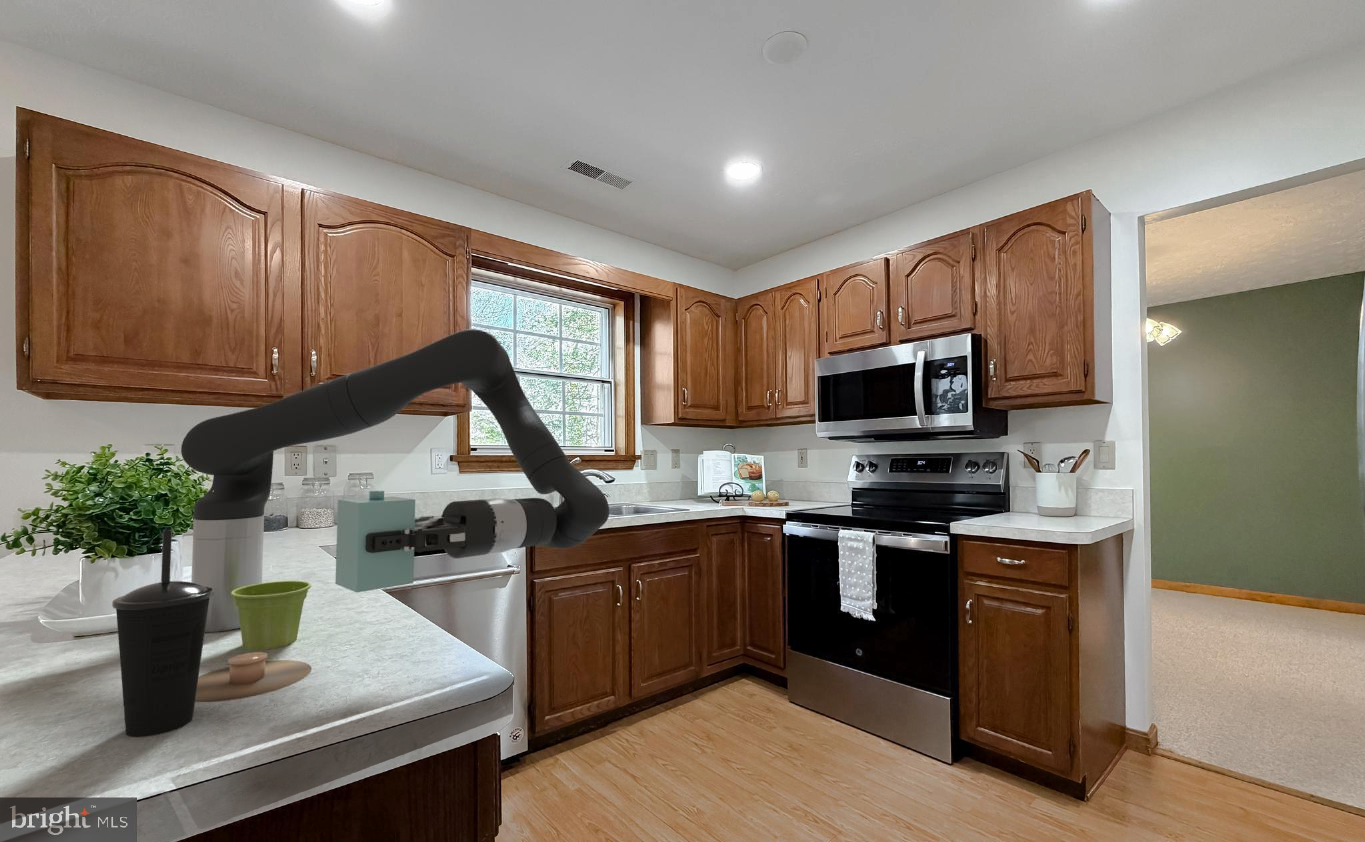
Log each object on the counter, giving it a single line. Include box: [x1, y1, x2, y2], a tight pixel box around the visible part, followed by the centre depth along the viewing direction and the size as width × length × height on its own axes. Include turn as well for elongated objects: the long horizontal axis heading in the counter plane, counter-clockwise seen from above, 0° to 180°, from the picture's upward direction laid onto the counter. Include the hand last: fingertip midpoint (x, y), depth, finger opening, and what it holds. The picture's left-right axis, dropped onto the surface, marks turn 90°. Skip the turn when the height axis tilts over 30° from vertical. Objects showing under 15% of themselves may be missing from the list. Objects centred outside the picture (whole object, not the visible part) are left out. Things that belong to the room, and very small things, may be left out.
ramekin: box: [227, 651, 268, 684], centre depth 72 cm, size 4×4×2 cm
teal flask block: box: [334, 490, 416, 594], centre depth 73 cm, size 6×6×11 cm
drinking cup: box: [111, 529, 213, 738], centre depth 60 cm, size 8×8×20 cm
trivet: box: [195, 659, 312, 703], centre depth 72 cm, size 13×13×1 cm
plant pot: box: [231, 580, 312, 651], centre depth 86 cm, size 9×9×9 cm
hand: (355, 540), depth 71 cm, fingers closed on teal flask block, 6 cm apart
